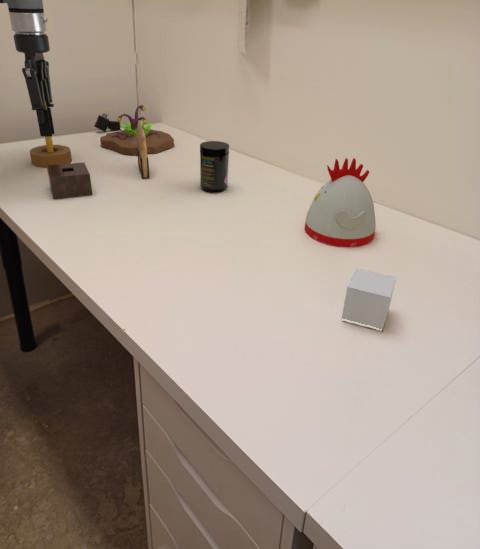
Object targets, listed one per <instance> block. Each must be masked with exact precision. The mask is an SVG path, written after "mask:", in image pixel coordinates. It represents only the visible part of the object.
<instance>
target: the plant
mask: <svg viewBox="0 0 480 549" xmlns="http://www.w3.org/2000/svg"><path fill="white" fill-rule="evenodd" d="M139 109H140V111H141V112H145V111H146V107H145V105H142V104H140V105H139V104H138V105H137V107H136V109H135V112H134V118H133V117H132V116H131V115H129V114H127V113H123V114H121V115H119V116H117V118H116V121H118V122H120V127H122V128H123V129H120V130H118V131H113V132H108V133H106V134H105V135H102V136H100V138H99V141H100V146H101V147H102V148H104V149H107V150H111V151H114V152H117V153H119V154H121V155H127V156H137V157H138V153H137V147H138V145H137V125H138V120H140V122H141V125H142V128H143V130H144V133H145V140H146V146H147V155H148V154H149V155H151V154H152V155H153V154H158V153H160V152H163V151H165V150H168V149H171V148H174V147H175V139H174V138H173V136H172V135H171V134H170V133H168V132H165V131H162V130H155V129H151V128H152V127H153V126H154V122H152V123H151V122H150V123H148V120H147V119H146V118H145V117H144V116H141V117H139ZM123 117H127V119H128V120H129V121H126V124H124V123H121V122H122V121H123Z"/></svg>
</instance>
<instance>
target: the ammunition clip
mask: <svg viewBox="0 0 480 549" xmlns="http://www.w3.org/2000/svg"><path fill="white" fill-rule="evenodd" d="M141 122H142V121H140V120H138V125H137V145H138V147H137V153H138V156H137V165H138V169H139V174H140V177H141V179H144V180H145V179H150V166H149V165H150V164H149V157H148V154H147V146H146V140H145V133H144V130H143V128H142V125H141Z"/></svg>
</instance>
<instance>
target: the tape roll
mask: <svg viewBox="0 0 480 549" xmlns="http://www.w3.org/2000/svg"><path fill="white" fill-rule="evenodd" d="M53 149H54V152H47V146H46V144H44V145H39V146H35V147H32V148H30V149H29V157H30V162H31V165H33V166H35V167H40V168H47V166H48V165H59V164H71V162H72V161H73V158H72V151H71V148H70V147H69V146H67V145H62V144H53Z"/></svg>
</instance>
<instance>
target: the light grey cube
mask: <svg viewBox="0 0 480 549" xmlns="http://www.w3.org/2000/svg"><path fill="white" fill-rule="evenodd" d="M396 281H397V276H392V275H388V274H384V273H381V272H375V271H371V270H367V269H363V268H358V267H356V268H355V269H354V271H353V273H352V275H351V278H350V280H349V282H348V285H347V288H346V293H345V298H344V303H343V309H342V313H341V314H342V315H341V319H342V318H343V319H347V320H350V321H354V322H358V323H361V324H365V325H370V326H373V327H376V328H379V329H383V330H384V327H385V323H386V321H387V317H388V313H389V310H390V306H391V301H392V297H393V293H394V289H395V285H396Z"/></svg>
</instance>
